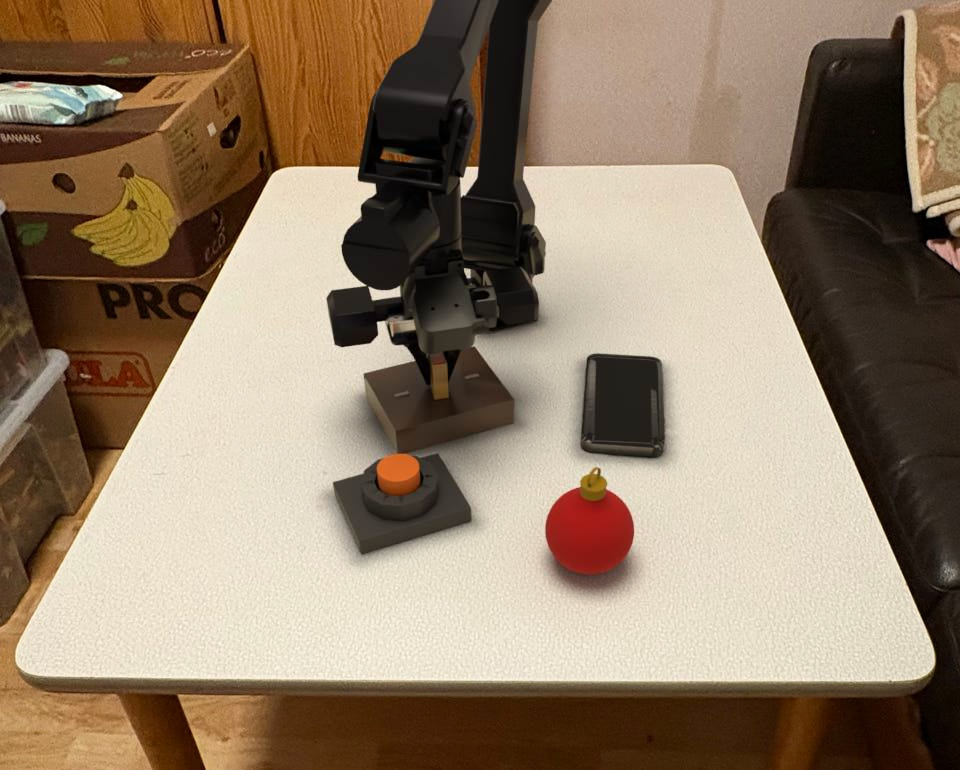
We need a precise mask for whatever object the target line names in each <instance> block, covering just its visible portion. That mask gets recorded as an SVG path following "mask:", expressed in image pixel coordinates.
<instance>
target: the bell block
mask: <svg viewBox="0 0 960 770" xmlns="http://www.w3.org/2000/svg"><path fill="white" fill-rule="evenodd" d="M409 455H410V454H409ZM410 456H412V457H414V458H415V459H416V460H417V461H418V463H419V469H420V485H419V487H418V488H417V489H416V490H415V491H414V492H413V493H410V494H407V495H403V496H393V495H388V494H385V493H384V492H383V491H382V490H381V489H380V488H379V484H378V476H377V465H378V463H379V462H380V461H381V460H382V459H383V458H384V457H382V458H379V459H376V461H374V462H372V463H371V464H370V465H369V466H368V467H366V468H365V469H364V470H363V472H362V473H360V474H357V475H354V476H350V477H346V478H342V479H339V480H336V481H333V482H332V486H333V492H334V497H335V499H336V501H337V503H338V507H339V509H340V510H341V513H342V515H343V517H344V520H345V522H346V524H347V526H348V529H349V531H350V533H351V536H352V537H353V540H354V543H355V544H356V546H357V549H358V551H359V554H360V555H361V556H363V555H365V554H369V553H373V552H375V551H380V550H383V549H385V548H389V547H393V546H395V545H398V544H401V543H402V544H403V543H405V542H408V541H411V540H415V539H418V538H421V537H426V536H428V535H432V534H434V533H438V532H442V531H444V530H449V529H451V528H455V527H458V526H461V525H464V524H468V523H472V507H471V505H470V504H469V502H468V500H467V499H466V497H465V495H464V494H463V492H462V490H461V489H460V487H459V485H458V483H457V482H456V480H455V479H454V477H453V475H452V473H451V472H450V470H449V468H448V467H447V466H446V464H445V461H444V460H443V458H442V457H441V456H440V454H439V453H438V452H437V453H432V454H429V455H426V456H425V455H424V456H422V457H419V456H418V455H410Z"/></svg>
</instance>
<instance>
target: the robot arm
mask: <svg viewBox="0 0 960 770" xmlns="http://www.w3.org/2000/svg"><path fill="white" fill-rule="evenodd" d="M552 2H553V0H433V2H432V4H431V7H430V10H429V13H428V15H427V17H426V20H425V23H424V25H423V28H422V31H421V32H420V35H419V38H418V40H417V41H416V44H415V45H414V46H412V47H411V48H410V49H409V50H407V51H405V52H404V53H403V54H400V55H399V56H398V57H397V58H395V59H394V60H393V61H391V63H390V66H389V68H388V70H387V71H386V73H385V74H384V77H383V78H382V80H381V82H380V84H379V86H378V88H377V90H376V91H375V93H374V94H373V96H372V98H371V101H370V104H369V109H368V115H367V121H366V126H365V132H364V138H363V142H362V148H361V154H360V161H359V165H358V172H357V180H358V182H359V183H366V184H373V185H375V194H373V195H372V196H371V197H368V198H367V199H365V200H364V201H363V203H361V205H360V216H359V218H358V219H357V220H356V221H354V223H352V224H351V225H350V226H349V227H348V228H347V230H346V232H345V233H344V235H343V239H342V243H341V245H340V248H341V255H342V258H343V261H344V264H345V266H346V267H347V270H349V272H350V273H351V274H352V276H353V277H355V279H357V281H359V282H360V283H362V284H364V285H362V286H355V287H354V286H353V287H347V288H338V289H331V290H330V292H329V293H328V294H327V296H326V307H327V312H328V319H329V324H330V329H331V333H332V338H333V344H334V346H337V347H339V348H346V347H347V348H349V347H356V346H362V345H369V344H372V343H373V342H374V340H376V338H377V337H378V336H379V327H378V323H380V322H384V323H385V328H386V330H387V333H388V337H389V341H390V343H391V344H392V345H393V346H404V347H405V348H407V350H408V352H409V353H410V354H411V356H412V357H413V359H414V361H416V363H417V365H418V367H419V370H420V372H421V374H422V376H423V378H424V380H425V382H426V385H430V384H431V375H430V369H429V364H428V360H427V355H426V354H437V353H439V352H442V351H443V353H444V356H445V359H446V362H447V372H448V382H449V380H450V378H451V375H452V373H453V370H454V367H455V365H456V362H457V360H458V357H459V355H460V352H461V350H466V349H469V348H471V347H473V346H474V344H475V338H476V336H478V335H484V334H489V333H493V332H498V331H502V330H505V329H510V328H514V327H519V326H522V325H527V324H530V323H535V322H538V321H539V315H540V298H539V293H538V291H537V289H536V287H535V285H534V283H533V281H534V280H533V279H534V277H535V276H538V275H542V274H544V272H545V270H546V269H545V267H546V265H545V264H546V254H547V252H546V246H547V241H546V240H545V238H544V237H543V235H542V233H541V231H540V229H539V228H538V226H537V225H535V223H536V204H535V202H534V199H533V197H532V195H531V193H530V190H529V189H528V186H527V184H526V182H525V180H524V170H525V162H526V149H527V138H528V129H529V120H530V119H529V118H530V109H531V99H532V89H533V87H532V86H533V78H534V67H535V59H536V58H535V57H536V48H537V47H536V45H537V35H538V27H539V26H538V25H539V22H540V19H542V16H543V15H544V14H545V11H547V9H548V7H549V6H550V5H551V4H552ZM486 36H487V45H486V58H485V60H486V61H485V71H484V72H485V73H484V84H483V99H482V111H481V124H480V139H479V153H478V164H477V165H478V166H477V175H476V179H474V182H473V183H472V185H471V186H470V188H469V189H468V191H467V192H466V193H465V195H464V194H463V195H462V192H461V191H462V189H461V179H464V177H465V174H466V170H467V167H468V162H469V159H470V155H471V151H472V147H473V145H474V144H473V143H474V139H475V135H476V131H477V127H478V122H477V121H478V120H477V117H476V115H475V114H476V109H477V108H476V103H475V99H474V95H473V92H472V89H471V85H470V83H471V79H472V77H473V76H472V75H473V72H474V69H475V66H476V64H477V61H478V58H479V56H480V52H481V50H482V48H483V44H484V43H485V39H486ZM383 152H385V153H387V154H391V155H397V156H404V157H411V159H410V160H408V161H402V160H394V159H387V158H382V155H383ZM465 269H466V270H470V275H469V276H470V277H467V274H466V271H465ZM370 288H371V289H374V290H377V291H393V290H394V289H397V288H399V295H400V296H393V297H385V298H379V299H373V298H372V294H371V290H370Z"/></svg>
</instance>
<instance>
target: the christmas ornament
mask: <svg viewBox="0 0 960 770" xmlns="http://www.w3.org/2000/svg"><path fill="white" fill-rule="evenodd" d="M596 471H597V473H595V472H596ZM601 474H602V469H601V468H600V467H598V466H595V467H593V468H592V469H591V470H590V472H589V473H588V474H586V475H584V476H582V477H581V479H580V480H579V485H580V486H578V487H575V488H572V489H570V490H568V491H566V492H565V493H563V494H562V495H560V496H559V497H558V498H557V499H556V501H554V503H553V504H552V506H551V508H550V509H549V511H548V514H547V516H546V520H545V529H544V533H545V540H546V544H547V547H548V548H549V551H550V553H551V554H552V556H553V557H554V559H555V560H556V561H558V562H559V563H560V564H561V565H562V566H563V567H564V568H566V569H567V570H569V571H572V572H575V573H578V574H582V575H599V574H603V573H605V572H608V571H611V570H612V569H614V568H615V567H617V566H618V565H620V563H621V562H623V560H624V559H625V558H626V557H627V555H628V554H629V552H630V550H631V548H632V545H633V542H634V538H635V524H634V520H633V515H632V512H631V510H630V509H629V508H628V506H627V504H626V503H625V501H624V500H623V499H622V498H621V497H620V496H618V495H617V494H616V493H615V492H613V491H611V490H609V489H607V487H608V481H607V479H606V477H604V476H602V475H601Z"/></svg>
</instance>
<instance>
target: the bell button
mask: <svg viewBox="0 0 960 770" xmlns="http://www.w3.org/2000/svg"><path fill="white" fill-rule="evenodd" d="M412 456H413V455H411V456H410V454H407V453H404V454H397V453H392V454H389V455H387V456H384V457H382V458H383V459H382V458H381V459H382V460H381V461H380V462H379V463H378V465H377V476H378V484H379V488H380V489H381V490H382V491H383V492H384V493H385V494H388V495H393V496H403V495H407V494H410V493H413V492H414V491H415V490H416V489H417V488H418V487H419V485H420V469H419V463H418V461H417V460H416V459H415V458H414V457H412Z"/></svg>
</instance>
